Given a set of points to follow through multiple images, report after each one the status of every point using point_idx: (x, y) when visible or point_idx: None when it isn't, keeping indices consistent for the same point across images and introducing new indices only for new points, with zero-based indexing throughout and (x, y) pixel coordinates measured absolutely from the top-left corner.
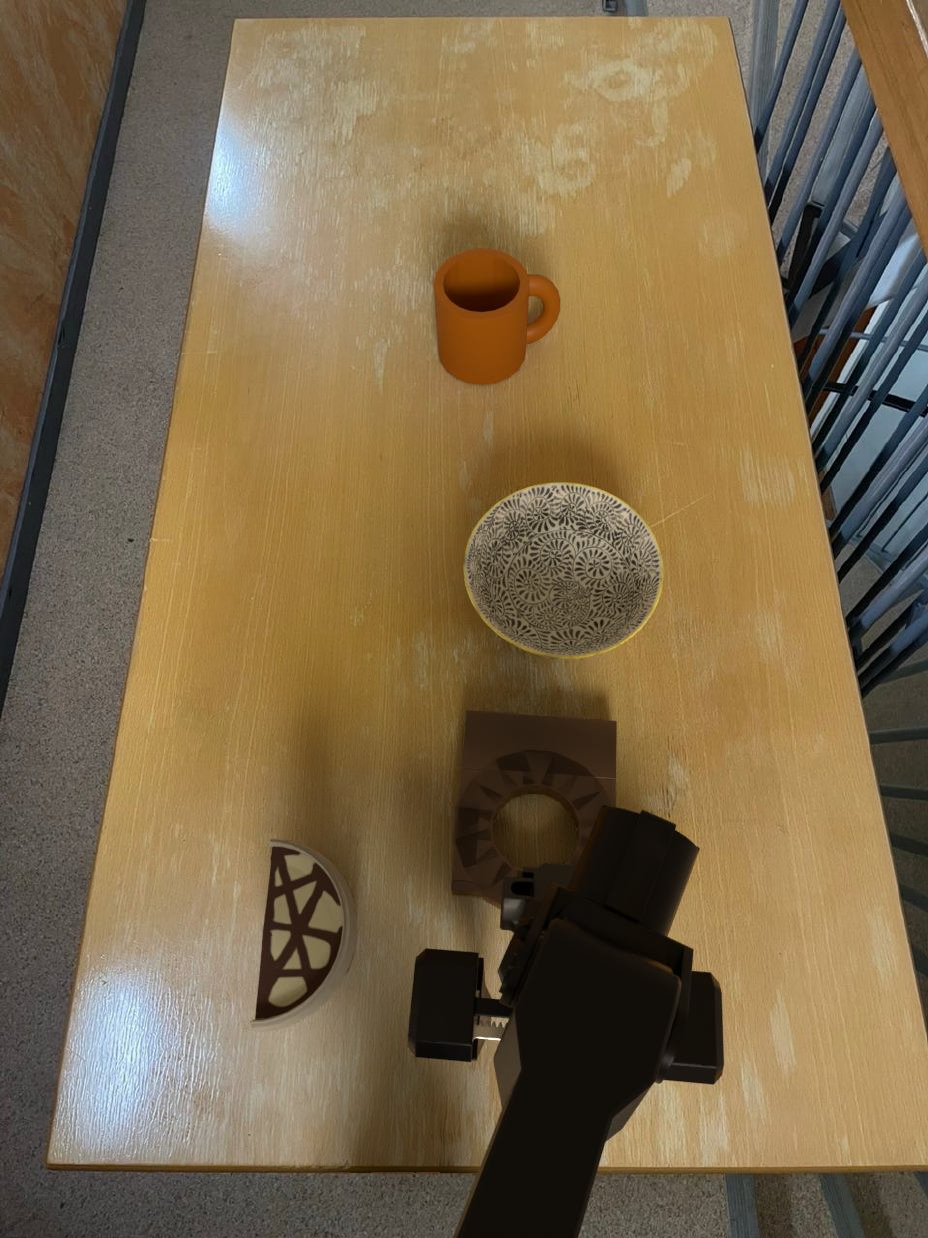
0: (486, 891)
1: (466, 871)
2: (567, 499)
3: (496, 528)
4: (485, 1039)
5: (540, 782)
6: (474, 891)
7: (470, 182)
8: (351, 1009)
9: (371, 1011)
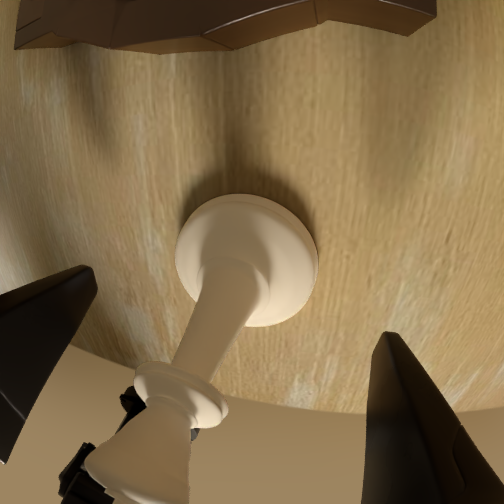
0: (57, 25)
1: (33, 4)
2: None
3: None
4: (42, 385)
5: None
6: (41, 34)
7: None
8: (8, 221)
9: (20, 224)
